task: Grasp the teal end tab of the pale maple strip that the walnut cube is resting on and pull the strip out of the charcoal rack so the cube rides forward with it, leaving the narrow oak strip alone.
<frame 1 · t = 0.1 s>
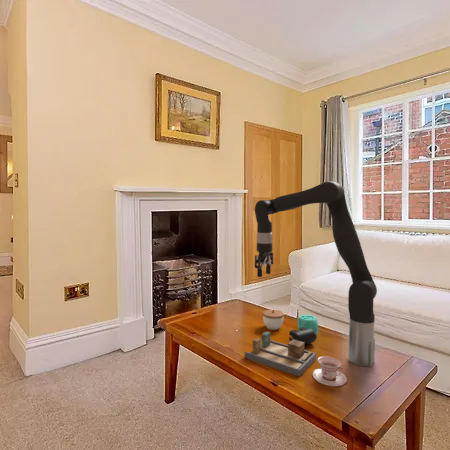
hand: (264, 275, 153), 29 cm above the table, fingers open, 8 cm apart
lidded jar: (273, 328, 163), on the table
end cap: (302, 345, 143), on the table
strip B: (276, 353, 126), point 4 cm above the table, slide at 0.0 cm
walnut cube: (296, 354, 130), point 2 cm above the table, touching strip A
decorative dice: (307, 333, 156), on the table
rack: (280, 358, 130), on the table
teacup: (329, 378, 116), on the table
strip A: (285, 346, 132), point 4 cm above the table, slide at 0.0 cm, touching walnut cube
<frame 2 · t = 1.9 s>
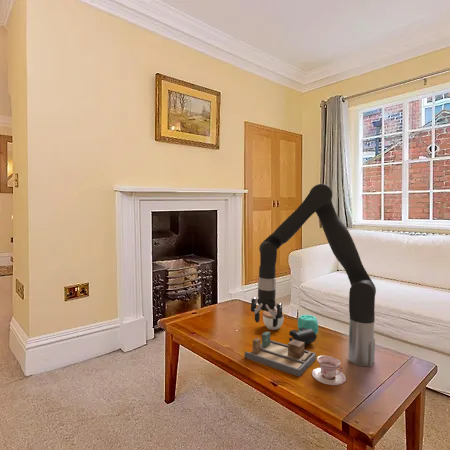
hand: (265, 324, 138), 11 cm above the table, fingers open, 8 cm apart
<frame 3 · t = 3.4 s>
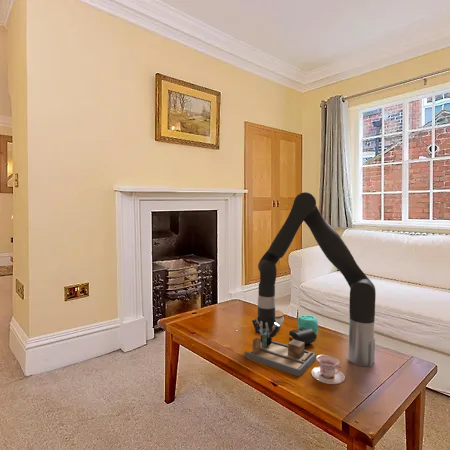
hand: (265, 344, 138), 3 cm above the table, fingers closed on strip A, 2 cm apart
strip A: (285, 346, 132), point 4 cm above the table, slide at 0.0 cm, touching gripper, walnut cube
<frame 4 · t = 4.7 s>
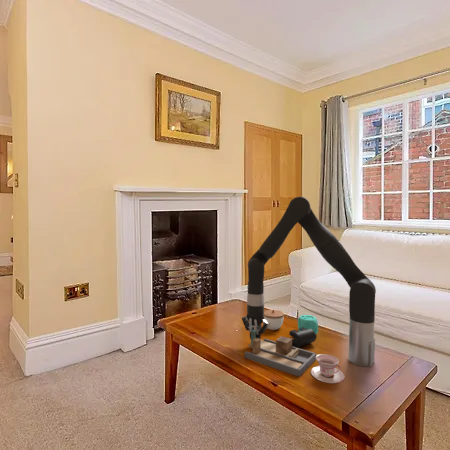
hand: (255, 340, 141), 3 cm above the table, fingers closed on strip A, 2 cm apart
walnut cube: (283, 351, 133), point 2 cm above the table, touching strip A
strip A: (273, 342, 136), point 4 cm above the table, slide at 5.5 cm, touching gripper, walnut cube
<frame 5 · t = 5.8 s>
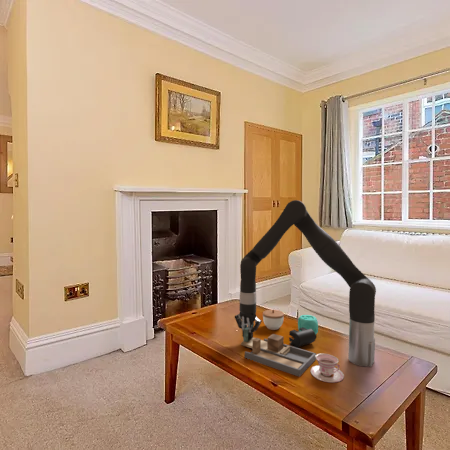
hand: (247, 338, 143), 3 cm above the table, fingers closed on strip A, 2 cm apart
walnut cube: (275, 348, 135), point 2 cm above the table, touching strip A
strip A: (265, 340, 138), point 4 cm above the table, slide at 9.4 cm, touching gripper, walnut cube
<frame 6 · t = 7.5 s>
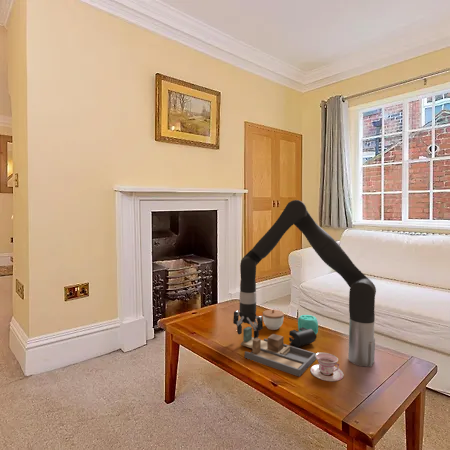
hand: (247, 336, 143), 4 cm above the table, fingers open, 8 cm apart
strip A: (265, 340, 138), point 4 cm above the table, slide at 9.4 cm, touching walnut cube
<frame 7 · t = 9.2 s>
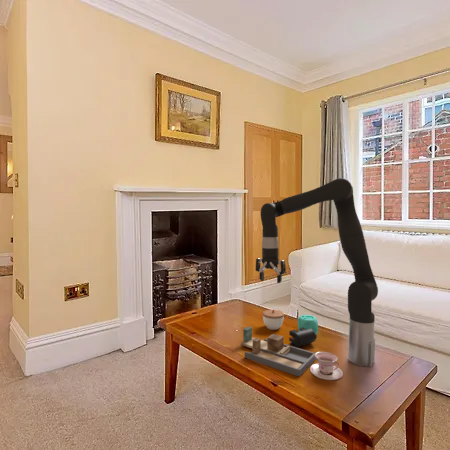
hand: (270, 281, 146), 28 cm above the table, fingers open, 8 cm apart
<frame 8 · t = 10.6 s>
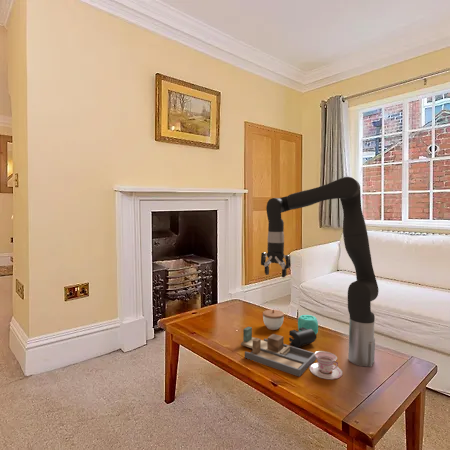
hand: (275, 275, 148), 30 cm above the table, fingers open, 8 cm apart
at the end: strip A slide at 9.4 cm; walnut cube inside the target area on the strip A (1.5 cm from its centre), point 1.9 cm above the strip A's base; walnut cube moved 9.4 cm from its start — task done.
